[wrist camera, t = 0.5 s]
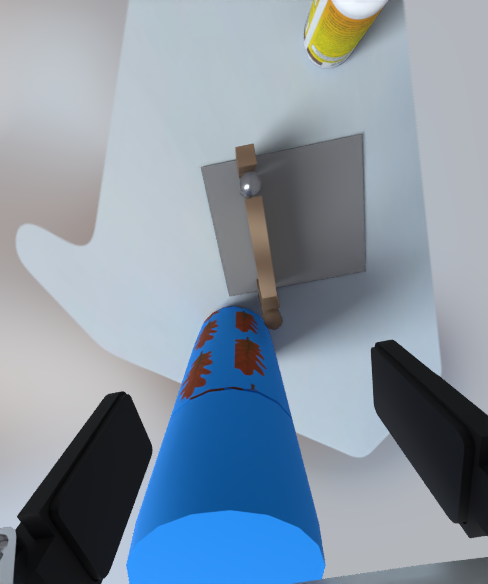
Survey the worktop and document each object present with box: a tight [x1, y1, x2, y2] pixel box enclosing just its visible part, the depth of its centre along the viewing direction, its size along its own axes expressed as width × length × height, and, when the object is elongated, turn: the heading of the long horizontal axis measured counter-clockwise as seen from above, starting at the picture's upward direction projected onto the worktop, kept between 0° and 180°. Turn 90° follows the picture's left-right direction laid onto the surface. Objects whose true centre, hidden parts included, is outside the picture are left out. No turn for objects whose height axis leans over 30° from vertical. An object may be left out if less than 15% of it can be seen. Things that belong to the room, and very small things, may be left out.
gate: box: [240, 171, 280, 311], centre depth 27 cm, size 14×2×8 cm, turn 11°
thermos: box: [126, 306, 325, 584], centre depth 25 cm, size 11×11×25 cm
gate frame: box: [201, 134, 366, 330], centre depth 28 cm, size 18×19×8 cm
